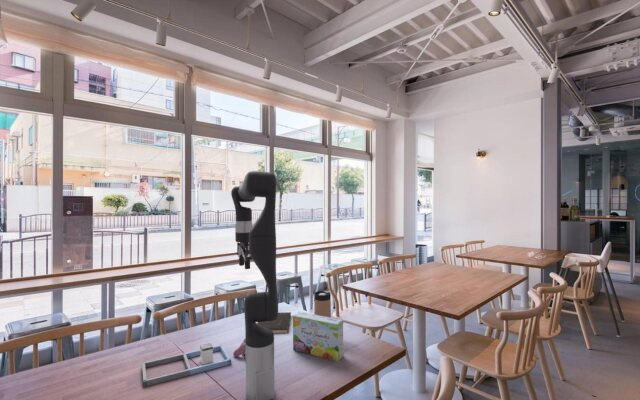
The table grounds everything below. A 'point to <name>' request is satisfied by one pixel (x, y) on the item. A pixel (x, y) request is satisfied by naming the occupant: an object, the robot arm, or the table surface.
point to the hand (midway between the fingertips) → (244, 267)
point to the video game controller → (240, 349)
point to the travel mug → (322, 304)
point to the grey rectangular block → (206, 353)
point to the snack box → (318, 335)
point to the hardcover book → (278, 323)
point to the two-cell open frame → (188, 369)
